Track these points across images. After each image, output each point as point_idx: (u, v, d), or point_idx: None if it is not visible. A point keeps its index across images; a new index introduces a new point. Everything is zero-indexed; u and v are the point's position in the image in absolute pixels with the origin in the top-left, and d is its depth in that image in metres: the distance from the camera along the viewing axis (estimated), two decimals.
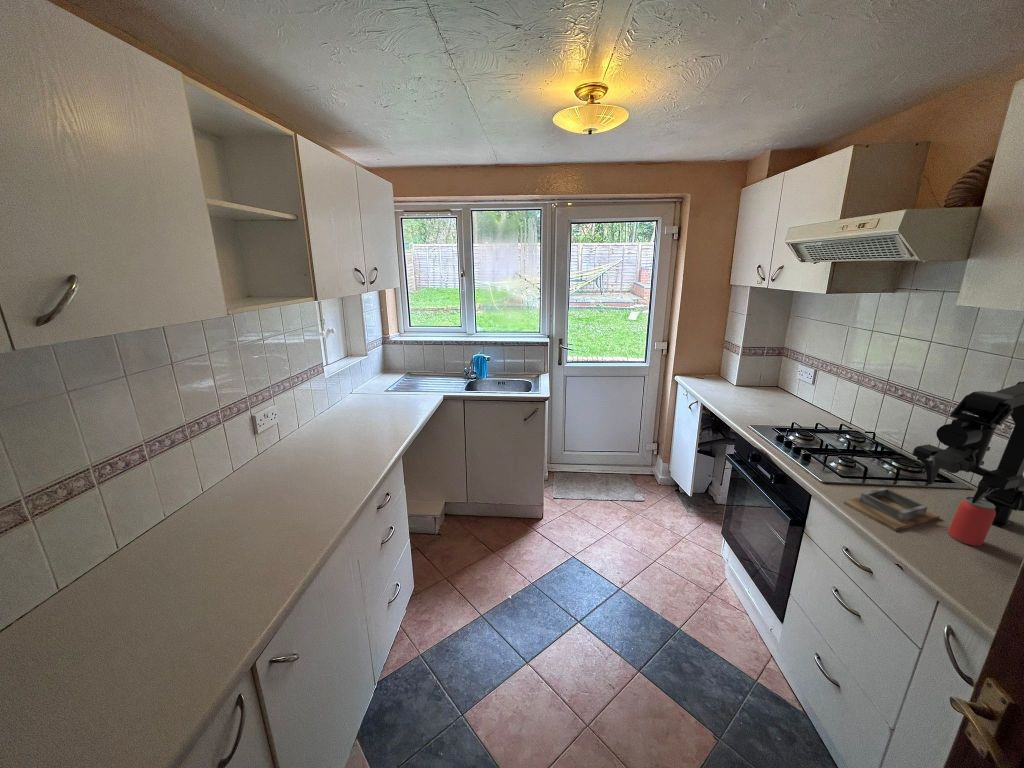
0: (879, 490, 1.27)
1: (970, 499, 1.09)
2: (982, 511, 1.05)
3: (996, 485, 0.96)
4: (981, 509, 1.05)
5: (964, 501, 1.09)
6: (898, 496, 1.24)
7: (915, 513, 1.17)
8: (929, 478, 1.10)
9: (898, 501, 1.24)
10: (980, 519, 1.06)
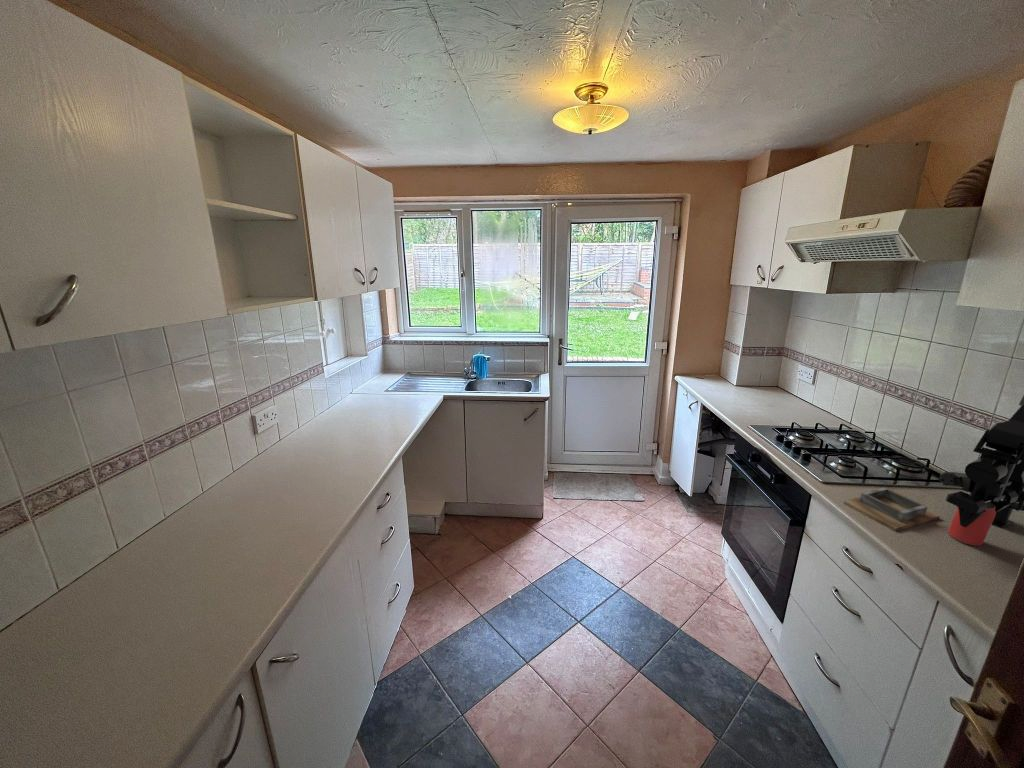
0: (879, 490, 1.27)
1: None
2: None
3: None
4: None
5: None
6: (898, 496, 1.24)
7: (915, 513, 1.17)
8: None
9: (898, 501, 1.24)
10: (980, 519, 1.06)
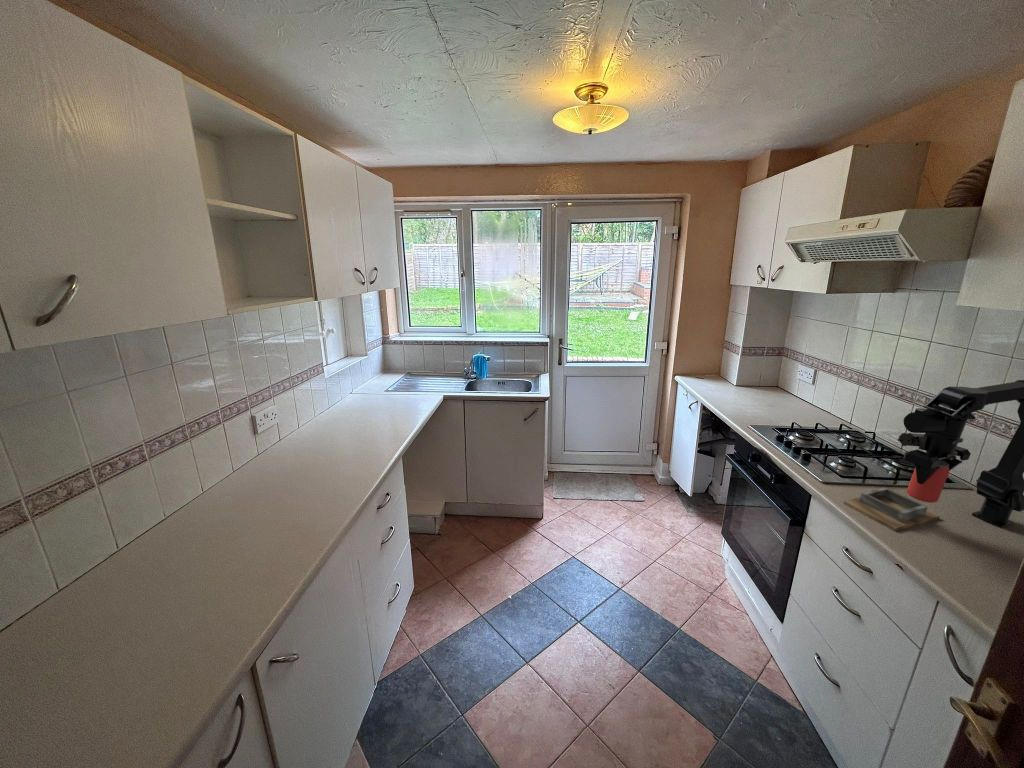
0: (879, 490, 1.27)
1: None
2: None
3: None
4: None
5: None
6: (898, 496, 1.24)
7: (915, 513, 1.17)
8: None
9: (898, 501, 1.24)
10: (935, 476, 1.11)
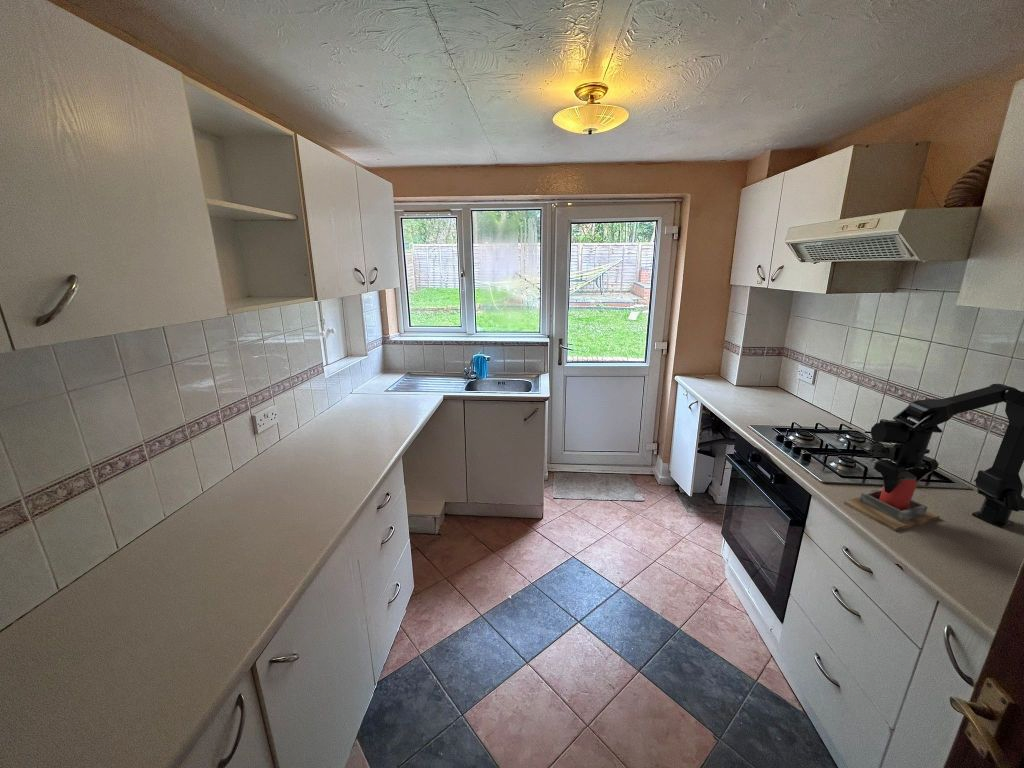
0: (879, 490, 1.27)
1: None
2: (904, 482, 1.17)
3: None
4: (903, 480, 1.17)
5: None
6: None
7: (915, 513, 1.17)
8: None
9: None
10: (903, 489, 1.17)
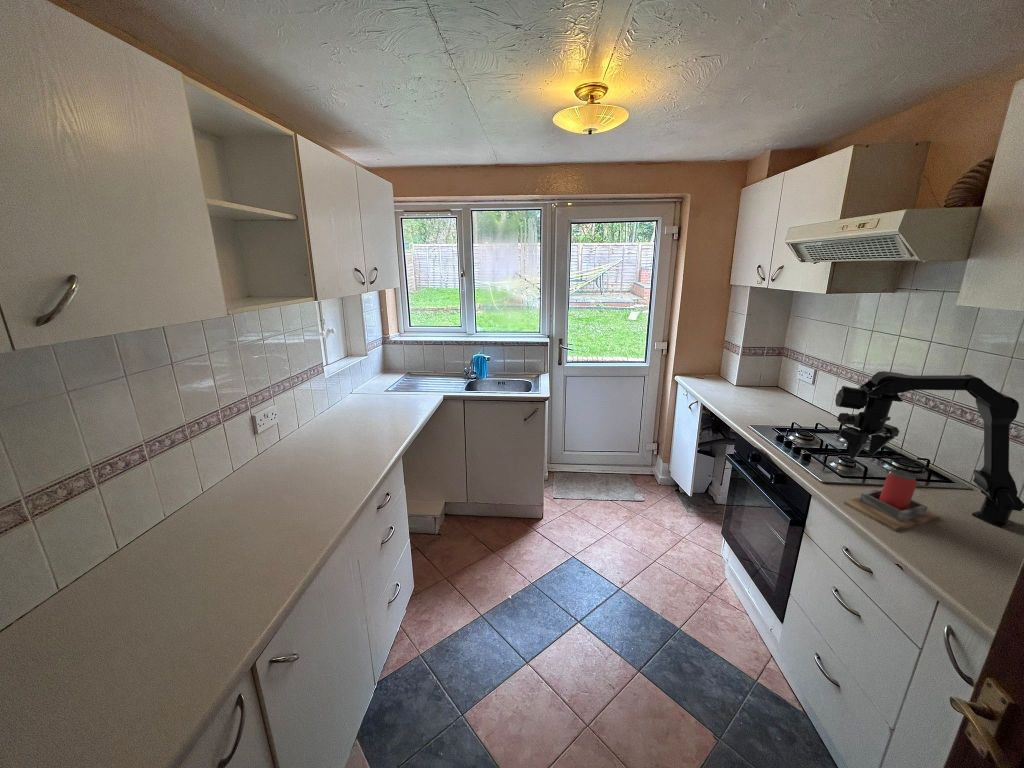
0: (879, 490, 1.27)
1: (895, 472, 1.21)
2: (904, 482, 1.17)
3: None
4: (903, 480, 1.17)
5: (890, 473, 1.21)
6: None
7: (915, 513, 1.17)
8: None
9: None
10: (903, 489, 1.17)
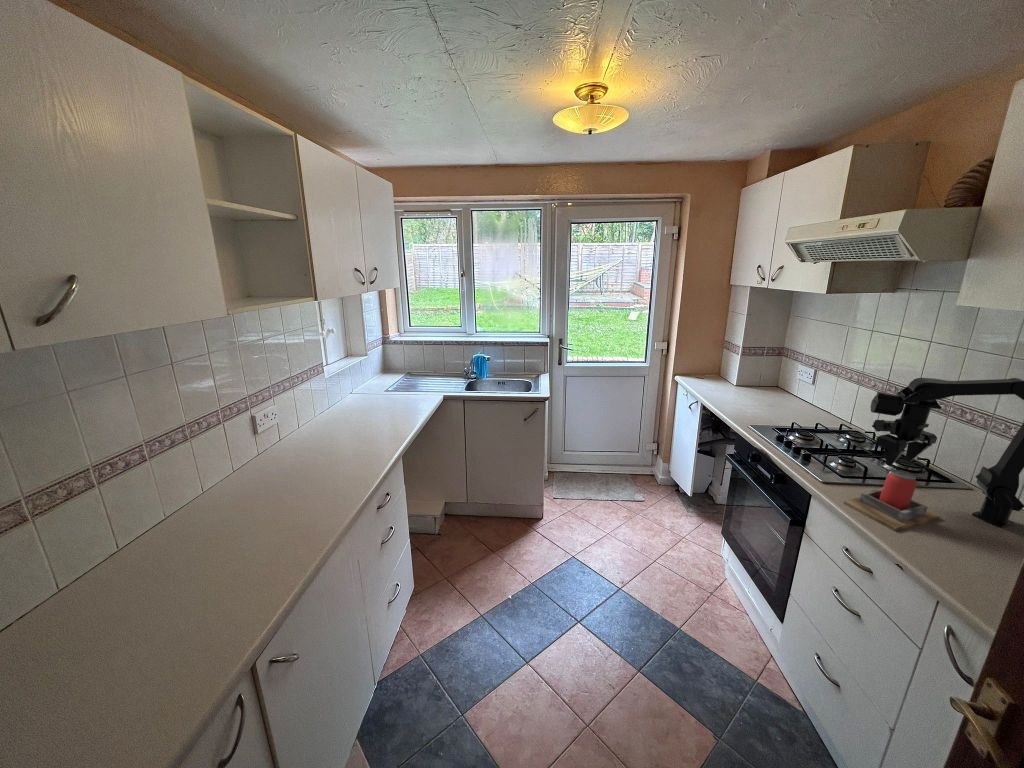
0: (879, 490, 1.27)
1: (895, 472, 1.21)
2: (904, 482, 1.17)
3: None
4: (903, 480, 1.17)
5: (890, 473, 1.21)
6: None
7: (915, 513, 1.17)
8: None
9: None
10: (903, 489, 1.17)
